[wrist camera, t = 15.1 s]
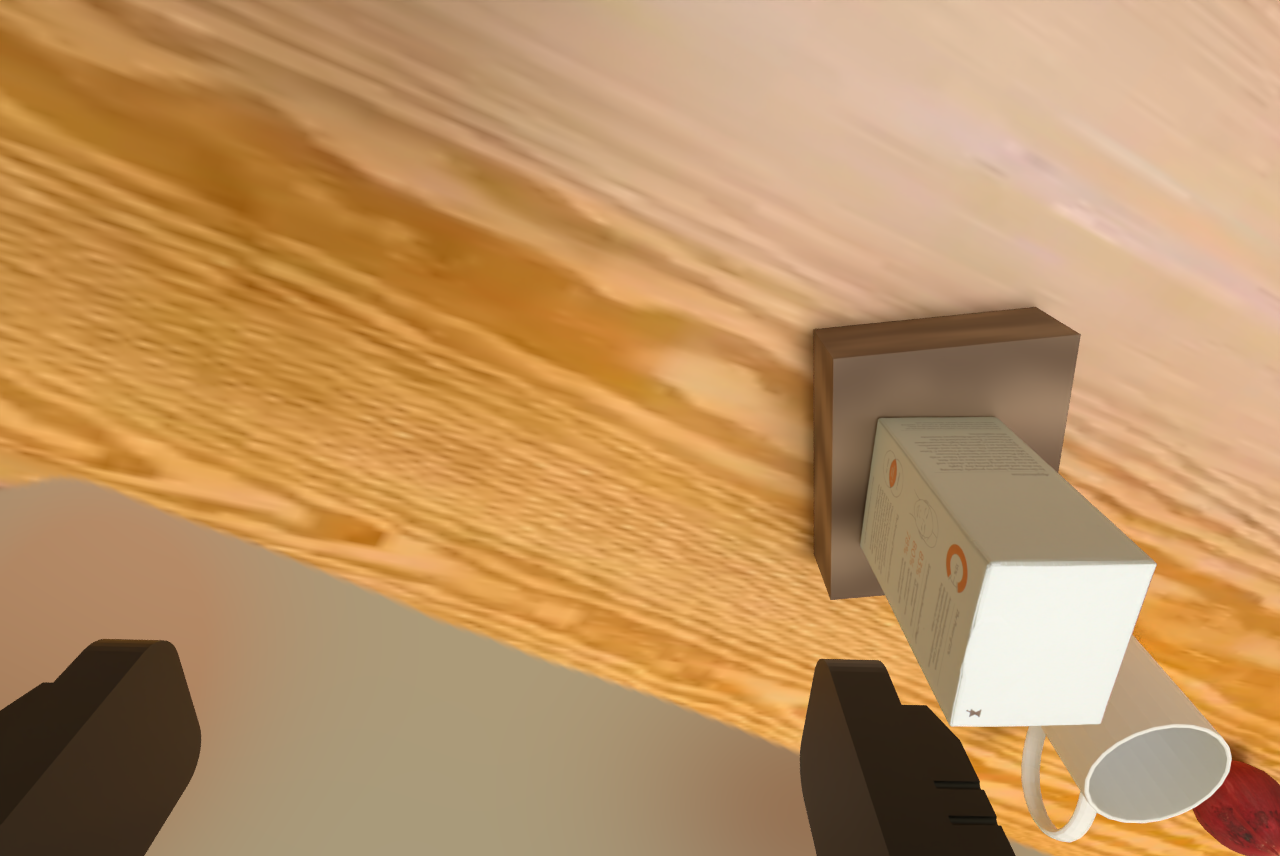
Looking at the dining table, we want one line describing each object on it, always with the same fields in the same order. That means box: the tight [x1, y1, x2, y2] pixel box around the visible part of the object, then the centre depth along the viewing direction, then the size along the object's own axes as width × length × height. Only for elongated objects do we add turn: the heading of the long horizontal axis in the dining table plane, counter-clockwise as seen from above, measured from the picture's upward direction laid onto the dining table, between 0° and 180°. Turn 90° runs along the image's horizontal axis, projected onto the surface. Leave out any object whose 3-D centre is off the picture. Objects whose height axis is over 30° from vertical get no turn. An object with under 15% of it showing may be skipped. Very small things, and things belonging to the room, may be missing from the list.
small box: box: [860, 417, 1157, 727], centre depth 34 cm, size 8×6×13 cm
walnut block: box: [814, 307, 1081, 600], centre depth 42 cm, size 15×12×5 cm
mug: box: [1021, 635, 1232, 842], centre depth 47 cm, size 12×8×10 cm, turn 154°
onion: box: [1193, 760, 1280, 856], centre depth 53 cm, size 6×6×8 cm
